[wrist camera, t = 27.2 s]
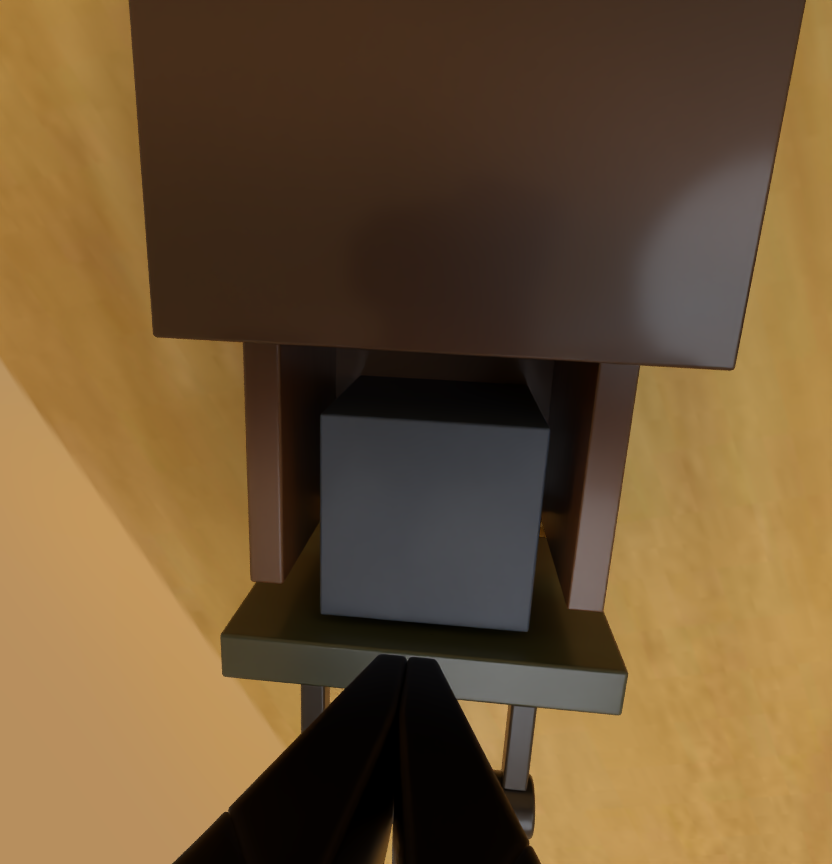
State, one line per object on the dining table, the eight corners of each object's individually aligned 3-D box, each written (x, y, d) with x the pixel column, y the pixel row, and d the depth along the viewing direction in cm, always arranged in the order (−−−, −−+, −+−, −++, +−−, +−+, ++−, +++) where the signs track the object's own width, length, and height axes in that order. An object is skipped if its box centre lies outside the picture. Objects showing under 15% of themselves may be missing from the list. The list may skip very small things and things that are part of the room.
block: (512, 540, 19) (528, 633, 14) (356, 528, 19) (319, 615, 14) (527, 384, 17) (551, 428, 12) (359, 374, 18) (319, 413, 13)
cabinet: (616, 327, 19) (735, 372, 10) (287, 309, 19) (152, 337, 11) (689, -215, 15) (967, -821, 7) (280, -212, 16) (71, -753, 7)
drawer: (558, 669, 21) (602, 862, 14) (299, 645, 22) (222, 818, 15) (623, 172, 17) (733, 102, 10) (296, 161, 17) (183, 88, 10)
